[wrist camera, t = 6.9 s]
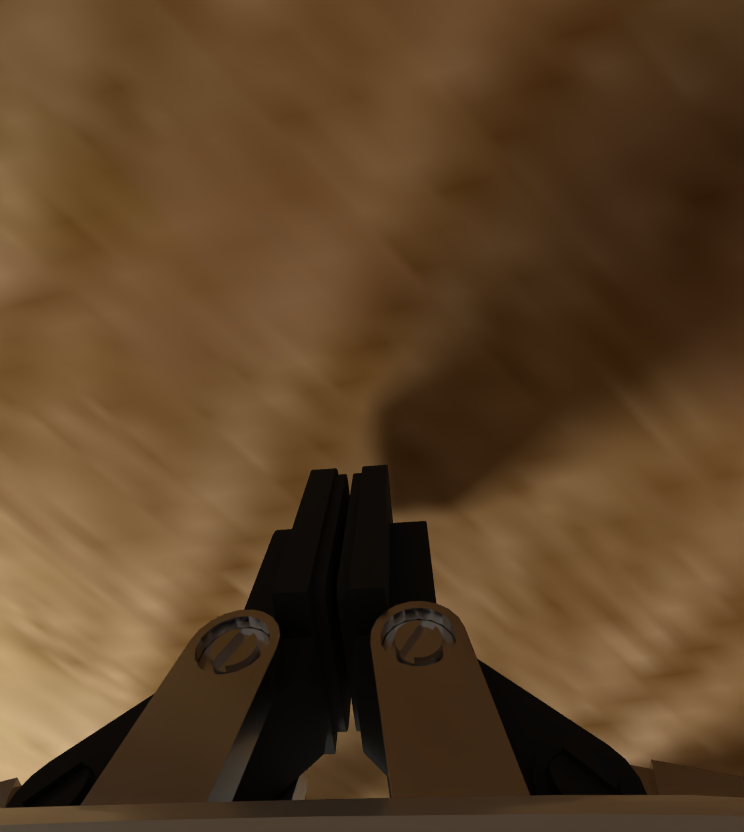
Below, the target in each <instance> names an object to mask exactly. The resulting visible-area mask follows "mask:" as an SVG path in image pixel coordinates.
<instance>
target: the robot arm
mask: <svg viewBox="0 0 744 832" xmlns="http://www.w3.org/2000/svg"><path fill="white" fill-rule="evenodd" d="M351 699H352V706H353V712H354V719H355V726H356V730H357V731H361V737H362V744H363V751H364V753H365V754H366V755H367V756H368V757H369V758H370V759H371V760H372V761H373V762H374V763H375V764H376V765H377V766H378V767H379V768H380V769H381V770H382V771H383V772H384V773H385V774H386V776H387V781H388V789H389V797H390V798H366V799H323V800H304V799H305V796H306V792H307V787H308V780H309V774H308V768H309V767H310V766H311V765H312V764H313V763H315V762H316V761H317V760H318V759H319V758H320V757H321V756H322V755H323V754H335V751H336V742H337V732H347V731H348V726H349V716H350V704H351ZM0 832H744V777H739V776H734V775H728V774H723V773H718V772H713V771H707V770H702V769H697V768H692V767H686V766H681V765H676V764H671V763H666V762H660V761H655V760H651V765H650V769H649V768H644V767H639V766H633V765H630V764H629V763H628V762H627V760H626V759H625V758H623V757H622V756H621V755H620V754H619V753H617V752H616V751H615V750H614V749H613V748H611V747H610V746H609V745H607V744H606V743H604V742H603V741H601V740H600V739H598V738H597V737H595V736H594V735H592V734H591V733H589V732H588V731H586V730H585V729H583V728H582V727H580V726H579V725H577V724H576V723H574V722H573V721H571V720H569V719H568V718H566V717H565V716H563V715H562V714H560V713H559V712H557V711H556V710H554V709H553V708H551V707H550V706H548V705H547V704H545V703H544V702H542V701H541V700H539V699H538V698H536V697H535V696H533V695H532V694H530V693H529V692H527V691H525V690H524V689H522V688H521V687H519V686H518V685H516V684H515V683H513V682H512V681H510V680H509V679H507V678H506V677H504V676H503V675H501V674H500V673H498V672H497V671H495V670H494V669H492V668H491V667H489V666H488V665H486V664H484V663H483V662H481V661H480V660H478V659H477V657H476V655H475V652H474V649H473V647H472V644H471V642H470V639H469V637H468V634H467V631H466V629H465V627H464V625H463V623H462V622H461V620H460V619H459V617H458V616H457V615H455V614H454V613H453V612H452V611H451V610H449V609H448V608H446V607H443V606H441V605H439V604H437V603H436V597H435V589H434V580H433V572H432V564H431V555H430V547H429V539H428V531H427V523H426V521H418V522H402V523H393V518H392V507H391V496H390V485H389V475H388V466H387V465H378V466H364V467H363V468H362V473H356V474H353V479H352V486H351V493H350V494H349V486H348V478H347V475H346V474H341V475H338V471H337V468H335V469H320V470H312V471H311V473H310V476H309V479H308V482H307V485H306V488H305V491H304V494H303V497H302V500H301V503H300V506H299V509H298V512H297V515H296V518H295V522H294V525H293V528H292V529H287V530H277V531H275V532H274V534H273V536H272V539H271V541H270V544H269V546H268V549H267V552H266V554H265V557H264V560H263V562H262V565H261V567H260V570H259V573H258V575H257V578H256V580H255V583H254V586H253V588H252V591H251V593H250V596H249V599H248V601H247V604H246V607H245V609H244V610H238V611H234V612H230V613H227V614H224V615H222V616H220V617H218V618H216V619H214V620H211V621H210V622H209V623H207V624H206V625H205V626H203V627H202V628H201V629H200V630H199V631H198V632H197V633H196V634H195V635H194V636H193V638H192V639H191V640H190V641H189V643H188V644H187V646H186V647H185V649H184V650H183V652H182V653H181V655H180V656H179V658H178V659H177V661H176V662H175V664H174V665H173V667H172V668H171V670H170V671H169V673H168V674H167V676H166V677H165V679H164V680H163V682H162V683H161V685H160V686H159V688H158V689H157V691H156V692H155V694H153V695H152V696H150V697H149V698H147V699H146V700H144V701H142V702H141V703H139V704H138V705H136V706H135V707H133V708H132V709H130V710H129V711H127V712H126V713H124V714H122V715H121V716H119V717H118V718H116V719H115V720H113V721H112V722H110V723H109V724H107V725H106V726H104V727H102V728H101V729H99V730H98V731H96V732H95V733H93V734H92V735H90V736H89V737H87V738H86V739H84V740H83V741H81V742H79V743H78V744H76V745H75V746H73V747H72V748H70V749H69V750H67V751H66V752H64V753H63V754H61V755H59V756H58V757H56V758H55V759H53V760H52V761H50V762H49V763H48V764H46V765H45V766H44V767H42V768H41V769H40V770H38V771H37V772H36V773H35V774H33V775H32V776H31V777H30V778H29V779H28V780H27V781H26V782H25V783H24V784H23V785H22V786H21V784H20V782H19V780H18V778H13V779H9V780H5V781H2V782H0Z"/></svg>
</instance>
